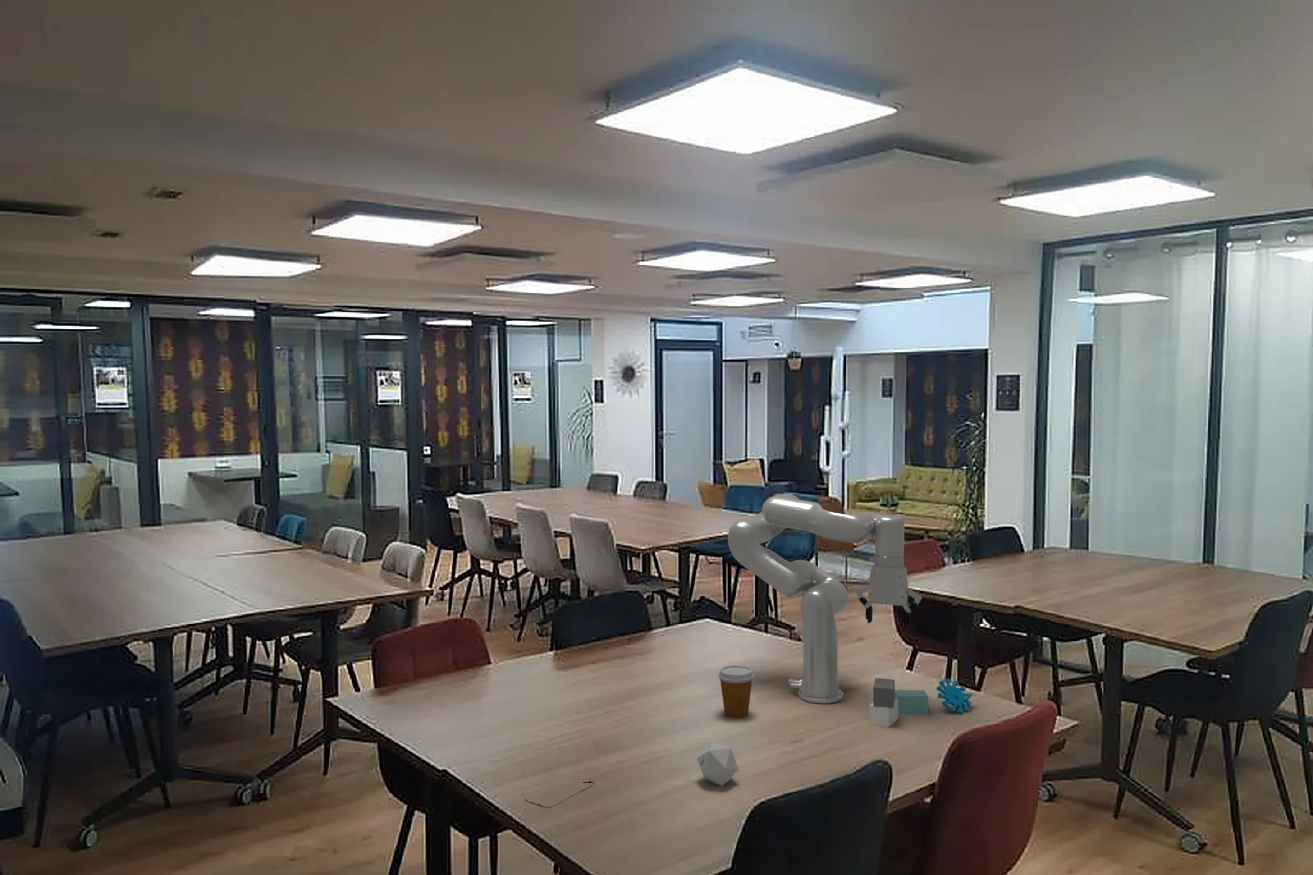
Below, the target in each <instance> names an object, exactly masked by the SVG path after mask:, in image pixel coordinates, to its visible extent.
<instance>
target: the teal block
mask: <svg viewBox="0 0 1313 875" xmlns="http://www.w3.org/2000/svg"><path fill="white" fill-rule="evenodd" d="M895 699H898V715H929V695H928V694H927V692H926V691H925V690H924V689H895Z"/></svg>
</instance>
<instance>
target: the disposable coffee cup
mask: <svg viewBox="0 0 1313 875" xmlns="http://www.w3.org/2000/svg"><path fill="white" fill-rule="evenodd" d="M719 669H720V670H719V673H718V676H717V677H718V678H719V682H720V687H721V689H720V690H721V697H722V704H723V710H724V715H725V716H726V717H727V718H731V719H744V718H746V717H748V715H749V710H750V702H751V692H752V683H753V679H754V677H755V674H754V673H753V669H752V668H751V667H748V666H745V665H727V666H723V667H721V668H719Z"/></svg>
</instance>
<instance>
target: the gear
mask: <svg viewBox="0 0 1313 875" xmlns="http://www.w3.org/2000/svg"><path fill="white" fill-rule="evenodd" d="M951 682H952V680H951V679H950V678H947V677H946V679H945V680H943V679H942V680H940V681H939V682H938V686H937V687H936V690H937V691H938V694H937V698H938V699H944V700H943V701H941V703H942V705H943V707H947V706H948V705H951V706H950V707H949V708H948V709H949V711H950V712H952V713H954V712H955V711H956V713H957V714H960V715H962V714H963V713H965V712H969V710H970V708H969V707H970V706H971V705H972V704H973V703H972V701H971V700H969V699H971V697H972V696H974V694H973V693H974V692H972V691H970V692H966V693H964V692H965V691H966V687H965V686H964V685H961V686H960V687H957V686H958V685H959V682H958V681H957V680H953V682H952V685H951V684H950V683H951ZM956 707H957V708H958V709H957V710H956Z"/></svg>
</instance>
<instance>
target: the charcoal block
mask: <svg viewBox="0 0 1313 875" xmlns="http://www.w3.org/2000/svg"><path fill="white" fill-rule="evenodd" d="M872 687H873V688H872V689H873V691H872V694H873V695H872V696H873V697H872V698H873V699H872V700H873V702H872V703H873V706H874V707H885V708H893V707H894V700H895V690H896V681H895V679H892V678H882V677H881V678H879V677H875V678H874V683H873V686H872Z"/></svg>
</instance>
